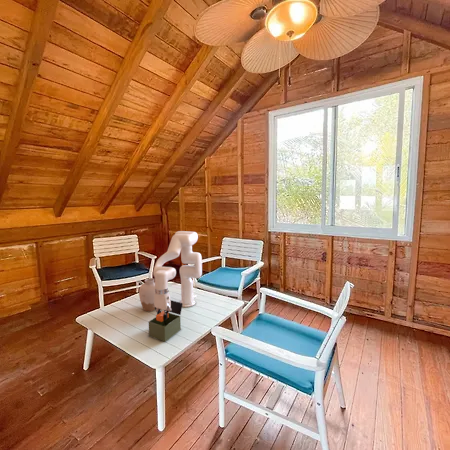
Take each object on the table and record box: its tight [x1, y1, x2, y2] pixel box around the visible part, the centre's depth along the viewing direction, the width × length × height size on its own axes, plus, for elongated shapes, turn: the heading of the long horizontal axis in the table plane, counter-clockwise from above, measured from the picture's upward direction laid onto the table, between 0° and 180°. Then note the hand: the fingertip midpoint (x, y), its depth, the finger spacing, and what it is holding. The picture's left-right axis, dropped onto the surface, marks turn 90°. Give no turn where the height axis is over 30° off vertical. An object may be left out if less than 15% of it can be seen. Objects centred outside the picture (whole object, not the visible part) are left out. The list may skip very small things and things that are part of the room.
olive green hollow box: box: [148, 312, 182, 343], centre depth 159 cm, size 15×13×10 cm
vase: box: [138, 277, 156, 312], centre depth 190 cm, size 16×16×23 cm
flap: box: [169, 299, 183, 316], centre depth 165 cm, size 7×13×1 cm
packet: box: [155, 310, 169, 322], centre depth 156 cm, size 6×4×3 cm
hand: (162, 318), depth 156 cm, fingers closed on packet, 4 cm apart
